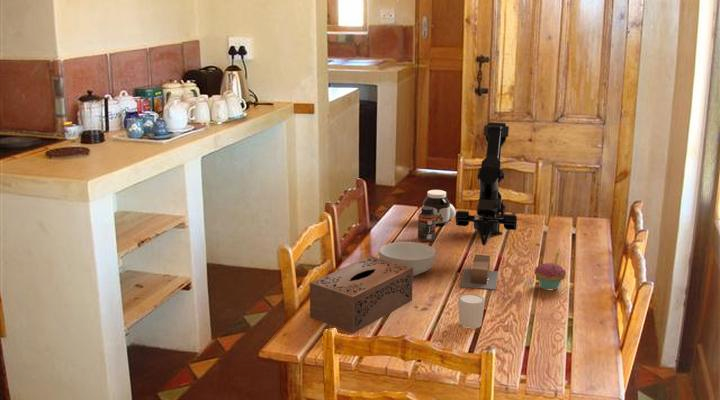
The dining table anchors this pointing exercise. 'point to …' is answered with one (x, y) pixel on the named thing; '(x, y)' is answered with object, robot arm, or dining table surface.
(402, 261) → the cereal bowl
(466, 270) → the felt mat
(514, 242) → the dining table surface
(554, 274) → the cupcake
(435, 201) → the spread jar
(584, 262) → the dining table surface
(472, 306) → the white cup
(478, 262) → the walnut block
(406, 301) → the tissue box cover
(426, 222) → the supplement bottle
